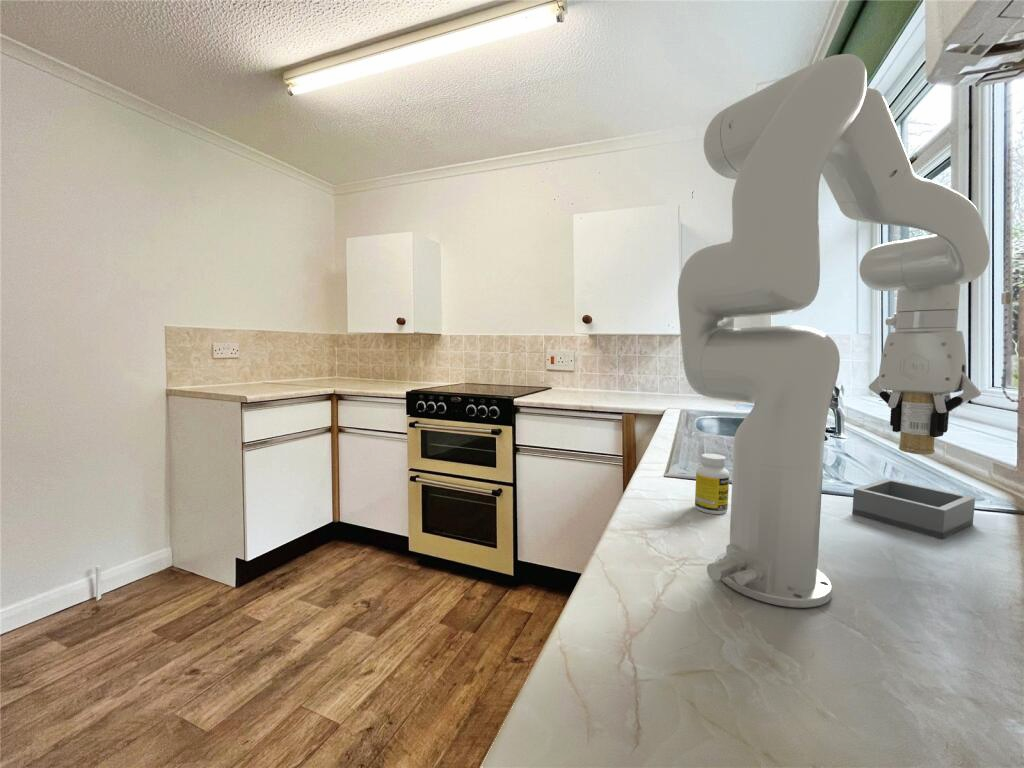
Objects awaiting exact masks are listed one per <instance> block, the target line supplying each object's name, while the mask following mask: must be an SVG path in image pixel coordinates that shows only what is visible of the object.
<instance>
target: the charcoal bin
mask: <svg viewBox="0 0 1024 768" xmlns="http://www.w3.org/2000/svg"><path fill="white" fill-rule="evenodd" d="M975 504H976V497H975V496H969V495H965V494H960V493H955V492H950V491H946V490H941V489H937V488H932V487H928V486H927V487H926V486H922V485H918V484H914V483H913V484H912V483H908V482H903V481H899V480H894V479H889V478H885V479H882V480H878V481H875V482H871V483H869V484H865V485H861V486H858V487H855V488H853V498H852V513H851V514H852V515H855V516H859V517H862V518H865V519H869V520H871V521H872V520H873V521H876V522H879V523H883V524H886V525H890V526H894V527H897V528H901V529H904V530H908V531H911V532H914V533H918V534H921V535H925V536H929V537H933V538H936V539H939V540H945V539H947V538H948V537H950V536H952V535H954V534H957V533H959V532H961V531H963V530H964V529H966V528H969V527H971V526H973V525H974V515H975Z"/></svg>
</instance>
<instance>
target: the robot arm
mask: <svg viewBox="0 0 1024 768" xmlns="http://www.w3.org/2000/svg"><path fill="white" fill-rule="evenodd" d="M867 74H868V73H867V68H866V65H865V63H864V61H863V60H862V58H860V57H859V56H857V55H855V54H851V53H843V54H842V53H841V54H834V55H831V56H828V57H826V58H825V57H824V58H823V59H820V60H818V61H816V62H813V63H811V64H809V65H807V66H805V67H803V68H801V69H799V70H796V71H795V72H793V73H791V74H789V75H787V76H785V77H782V78H780V79H779V80H777V81H775V82H773V83H772V84H769V85H768V86H766V87H765V88H762V89H761V90H759V91H757V92H754V93H752V94H751V95H749V96H747V97H745V98H743V99H740V100H738V101H736V102H735V103H733V104H731V105H729V106H727V107H726V108H724V109H723V110H720V111H719V112H718V113H717V114H715V116H714V117H713V118H712V119H711V120H710V122H709V124H708V125H707V128H706V130H705V131H704V132H705V133H704V136H703V151H704V155H705V158H706V161H707V163H708V165H709V166H710V167H711V169H712V170H713V171H714V172H715V173H717V174H718V175H719V176H722V177H724V178H726V179H730V180H735V183H734V187H733V191H732V196H731V197H732V198H731V209H732V210H731V211H732V218H731V219H732V220H731V221H732V235H731V239H730V240H729V241H726V242H723V243H717V244H712V245H708V246H706V247H703V248H701V249H699V250H697V251H695V252H694V253H693V254H692V255H690V256H689V258H687V260H686V261H685V263H684V264H683V266H682V269H681V272H680V274H679V275H680V276H679V278H678V284H677V285H678V286H677V304H678V305H677V307H678V308H677V309H678V320H679V328H680V329H679V330H680V340H681V351H682V353H681V354H682V362H683V369H684V373H685V377H686V381H687V382H688V384H689V386H690V388H692V389H693V391H694V392H695V393H697V394H699V395H701V396H703V397H707V398H711V399H718V400H726V401H733V402H734V401H735V402H745V403H749V404H753V407H752V409H751V410H750V412H749V413H748V414H747V415H746V417H744V419H743V420H742V422H741V423H740V424H739V426H738V428H737V430H736V432H735V434H734V438H733V445H732V472H731V473H732V475H731V498H730V502H731V503H730V526H729V544H727V545H726V550H725V551H726V552H723V553H721V554H720V555H718V556H717V557H716V559H715V561H714V562H711V563H708V565H707V566H706V572H707V574H708V576H709V578H710V579H712V580H713V581H722V582H723V583H724V584H725V585H727V587H730V588H731V589H732V590H734V591H736V592H738V593H740V594H742V595H744V596H746V597H749V598H751V599H753V600H756V601H759V602H763V603H766V604H770V605H775V606H779V607H787V608H802V609H804V608H805V609H807V608H815V607H819V606H822V605H824V604H827V603H828V602H829V601H830V600H831V598H832V594H833V585H832V583H831V580H830V579H829V578H828V577H827V576H826V575H825V574H824V573H823V572H821V570H819V569H818V561H819V560H818V559H819V544H820V543H819V541H820V528H821V527H820V526H821V511H822V508H821V507H822V495H823V494H822V491H823V490H822V489H823V472H824V453H825V451H824V450H825V443H826V442H825V441H826V428H827V423H828V417H829V416H828V414H829V411H830V406H831V402H832V399H833V394H834V390H835V387H836V384H837V380H838V376H839V372H840V365H841V363H840V362H841V361H840V360H841V359H840V357H841V356H840V351H839V348H838V346H837V344H836V343H835V341H834V340H833V338H831V337H830V336H829V335H828V334H827V333H824V332H823V331H821V330H818V329H816V328H813V327H807V326H803V325H802V326H801V325H770V326H769V325H767V326H752V327H735V318H750V317H764V316H777V315H786V314H792V313H795V312H798V311H801V310H804V309H805V308H807V307H808V306H810V305H811V304H812V303H813V302H814V301H815V299H816V297H817V296H818V293H819V287H820V280H821V278H820V277H821V258H820V257H821V256H820V255H821V251H820V249H821V248H820V246H821V245H820V217H819V216H820V214H819V213H820V212H819V210H820V209H819V188H820V181H821V176H822V177H823V179H824V180H825V182H826V184H827V186H828V188H829V190H830V192H831V194H832V196H833V198H834V200H835V202H836V204H837V206H838V208H839V210H840V211H841V213H842V215H843V216H845V217H847V218H848V219H850V220H852V221H858V222H864V223H869V224H876V225H877V224H878V225H882V226H883V225H884V226H885V225H886V226H894V227H895V226H897V227H905V228H913V229H918V230H921V231H923V232H924V231H925V232H927V233H931V235H930V234H929V235H926V236H918V237H912V238H909V239H902V240H897V241H896V240H895V241H892V242H891V241H890V242H887V243H882V244H879V245H876V246H874V247H872V248H871V249H868V251H867V252H866V253H864V255H863V256H862V258H861V261H860V264H859V267H858V268H859V277H860V279H861V281H862V283H864V285H865V286H867V287H868V288H870V289H872V290H875V291H877V292H879V291H880V292H891V291H892V292H893V291H897V295H896V309H895V313H894V314H893V315H894V316H891V317H887V318H886V319H885V325H886V326H892V327H893V329H894V332H893V331H891V332H888V333H887V336H886V338H885V342H884V346H883V350H882V352H881V359H880V365H879V369H878V370H879V372H878V375H877V377H876V378H874V380H873V381H872V382H871V383H870V384H869V385H868V389H869V390H870V391H872V392H873V393H874V394H876V395H877V396H879V397H880V398H881V399H882V400H883V401H884V402H885V403H886V404H887V406H888V408H890V418H889V425H890V426H891V427H892V432H894V433H901V431H900V426H901V408H902V399H903V392H915V393H930V394H933V396H934V401H935V406H936V409H935V412H933V413H932V414H931V427H930V436H931V437H934V438H939V437H943V436H944V433H947V432H948V428H949V417H950V416H949V415H950V412H952V411H953V410H955V409H956V408H958V407H959V406H961V405H962V404H964V403H967V402H969V401H972V400H973V399H977V398H979V397H980V396H981V395H982V393H981V391H980V390H979V389H978V387H977V386H976V385H975V384H974V383H973V381H972V380H971V379H970V378H969V377H968V376H967V354H966V344H965V339H964V335H963V334H964V333H963V331H962V330H958V320H959V319H958V318H959V309H960V308H959V305H960V295H961V285H963V284H964V285H965V284H967V283H970V282H974V281H975V280H976V279H979V278H980V277H981V276H982V275H983V274H984V272H985V271H986V269H987V268H988V264H989V263H990V255H991V254H990V253H991V251H990V245H989V240H988V237H987V233H986V230H985V227H984V223H983V221H982V217H981V215H980V212H979V211H978V209H977V207H976V205H975V204H974V203H973V201H971V200H969V199H968V198H967V197H966V196H964V195H963V194H961V193H960V192H958V191H956V190H954V189H952V188H950V187H948V186H946V185H943V184H941V183H939V182H938V181H934V180H931V179H928V178H924V177H921V176H919V175H917V174H916V173H915V172H914V169H913V166H912V164H911V161H910V159H909V156H908V153H907V152H906V151H907V150H906V148H905V147H904V144H903V142H902V137H901V136H900V133H899V130H898V128H897V125H896V122H895V120H894V117H893V114H892V113H891V110H890V108H889V105H888V102H887V101H886V99H885V96H883V94H882V93H881V92H880V91H879V90H877V89H875V88H874V87H869V86H867V85H868V84H867V83H868V82H867V81H868V80H867V79H868V78H867V77H868V75H867ZM960 392H962V393H960ZM953 393H960V394H958V395H956V396H953V397H951V394H953Z"/></svg>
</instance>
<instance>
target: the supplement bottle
mask: <svg viewBox="0 0 1024 768" xmlns="http://www.w3.org/2000/svg"><path fill="white" fill-rule="evenodd" d="M726 457H727V456H724V455H723V454H718V453H703V454H701V457H700V463H701V465H699V466H698V467H697V468H696V473H695V493H694V494H695V495H694V507H695V508H696V509H697V510H698V511H700V512H703V513H705V514H711V515H722V514H726V512H728V509H729V508H728V505H729V492H730V491H729V489H730V472H729V470H728V469H726V468H725V466H726V465H727V464H726V463H727V461H726V460H727V458H726Z"/></svg>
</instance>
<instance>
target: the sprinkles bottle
mask: <svg viewBox="0 0 1024 768" xmlns="http://www.w3.org/2000/svg"><path fill="white" fill-rule="evenodd" d="M935 409H936V406H935V401H934V396H933V394H930V393H915V392H903V399H902V408H901V426H900V437H899V440H900V441H899V446H898V449H899V450H900V451H901V452H904V453H909V454H913V455H925V456H927V455H933V454H935V437H931V436H930V427H931V414H932V413H933V412H935Z"/></svg>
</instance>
